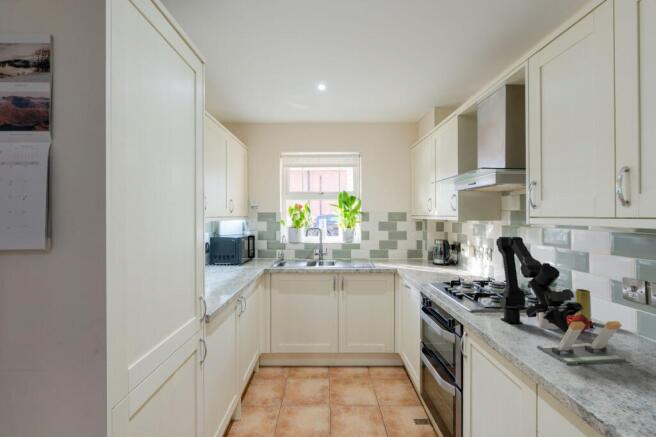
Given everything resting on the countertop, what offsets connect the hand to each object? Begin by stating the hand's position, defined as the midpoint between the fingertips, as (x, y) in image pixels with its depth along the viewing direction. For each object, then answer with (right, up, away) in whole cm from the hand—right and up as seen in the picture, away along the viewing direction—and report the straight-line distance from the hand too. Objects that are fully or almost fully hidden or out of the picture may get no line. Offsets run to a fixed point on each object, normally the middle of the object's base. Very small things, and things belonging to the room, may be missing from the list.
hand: (567, 332), depth 110 cm
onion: (+23, -8, +24) cm, 35 cm away
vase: (+34, -8, +36) cm, 50 cm away
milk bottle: (+14, -8, +29) cm, 33 cm away
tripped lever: (0, -7, +2) cm, 7 cm away
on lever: (+13, -7, +3) cm, 15 cm away
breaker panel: (+6, -9, +3) cm, 11 cm away
